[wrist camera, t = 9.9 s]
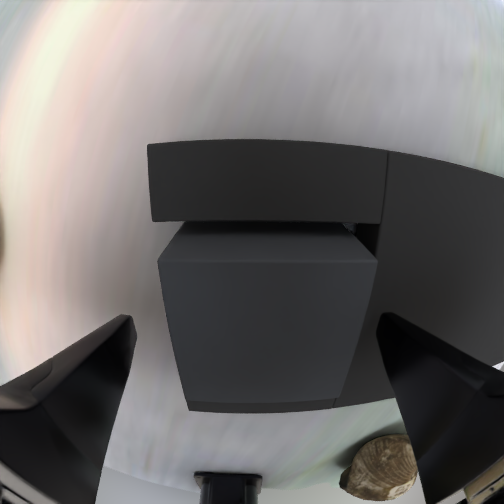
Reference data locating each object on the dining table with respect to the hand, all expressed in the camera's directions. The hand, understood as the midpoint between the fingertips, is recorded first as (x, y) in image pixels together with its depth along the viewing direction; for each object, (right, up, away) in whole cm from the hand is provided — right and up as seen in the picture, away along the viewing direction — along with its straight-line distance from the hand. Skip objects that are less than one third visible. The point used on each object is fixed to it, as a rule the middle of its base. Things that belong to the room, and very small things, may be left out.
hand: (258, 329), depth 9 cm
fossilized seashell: (+12, -16, +10) cm, 22 cm away
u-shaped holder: (+8, +1, +2) cm, 8 cm away
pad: (0, +1, +2) cm, 3 cm away
